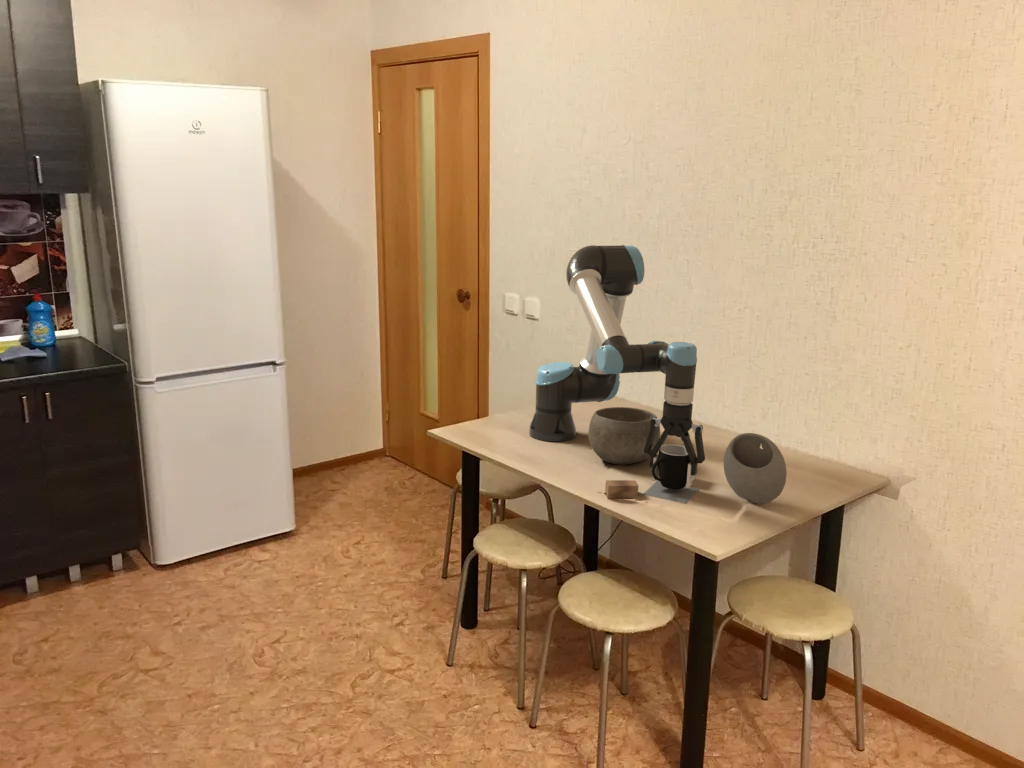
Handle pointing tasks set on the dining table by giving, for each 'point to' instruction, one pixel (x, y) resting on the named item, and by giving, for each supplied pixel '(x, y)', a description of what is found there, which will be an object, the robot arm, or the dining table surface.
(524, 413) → the dining table surface
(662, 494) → the coaster mat
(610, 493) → the walnut block
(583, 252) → the robot arm
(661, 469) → the mug
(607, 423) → the bowl
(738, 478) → the planter
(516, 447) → the dining table surface
